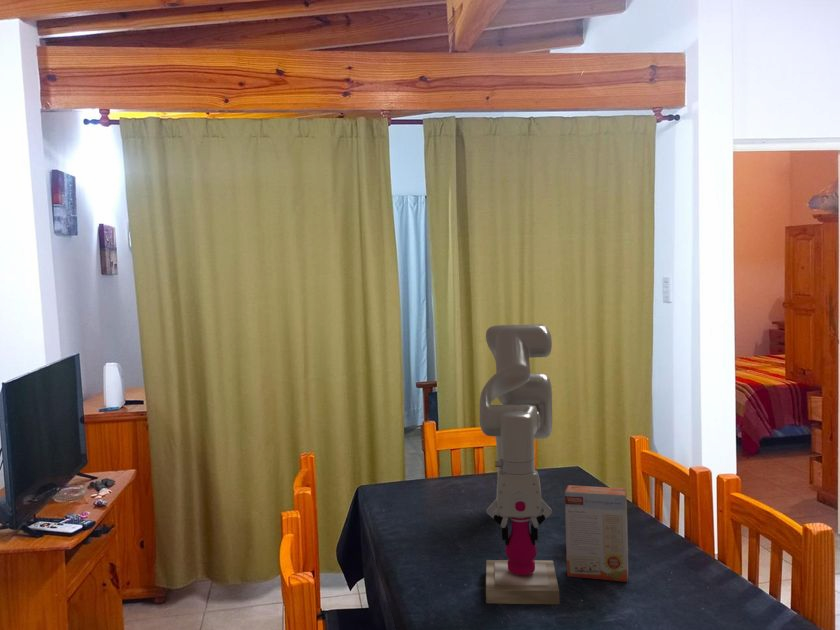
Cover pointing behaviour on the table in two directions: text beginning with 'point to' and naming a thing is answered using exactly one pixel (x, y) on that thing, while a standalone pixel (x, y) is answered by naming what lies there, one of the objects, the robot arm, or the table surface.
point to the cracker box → (596, 532)
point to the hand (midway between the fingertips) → (519, 541)
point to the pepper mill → (520, 545)
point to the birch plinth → (521, 584)
